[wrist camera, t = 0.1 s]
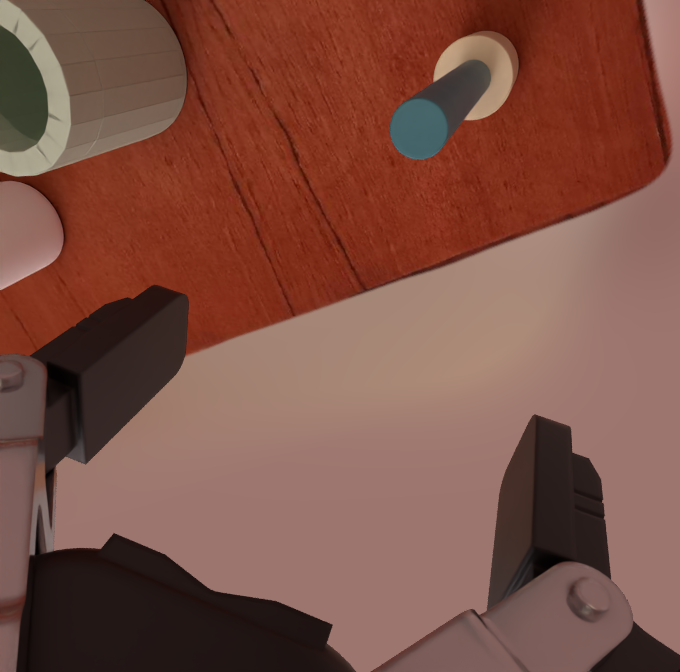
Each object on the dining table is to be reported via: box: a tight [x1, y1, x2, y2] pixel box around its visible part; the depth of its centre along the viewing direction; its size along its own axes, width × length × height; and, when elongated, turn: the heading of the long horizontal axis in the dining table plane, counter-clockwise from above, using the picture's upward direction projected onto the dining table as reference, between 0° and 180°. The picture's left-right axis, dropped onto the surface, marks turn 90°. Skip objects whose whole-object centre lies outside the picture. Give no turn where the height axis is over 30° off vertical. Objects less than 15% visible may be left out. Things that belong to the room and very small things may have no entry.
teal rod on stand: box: [390, 31, 519, 160], centre depth 29 cm, size 4×4×22 cm
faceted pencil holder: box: [0, 0, 187, 176], centre depth 40 cm, size 10×10×13 cm
